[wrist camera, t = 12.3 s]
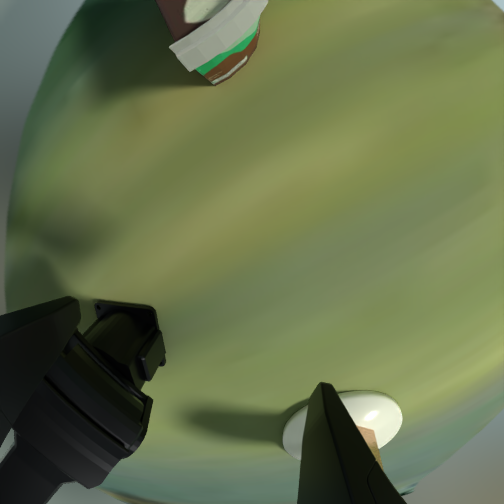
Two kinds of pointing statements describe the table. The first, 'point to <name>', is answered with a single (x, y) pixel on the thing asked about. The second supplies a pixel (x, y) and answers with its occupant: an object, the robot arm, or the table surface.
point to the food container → (213, 34)
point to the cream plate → (362, 412)
